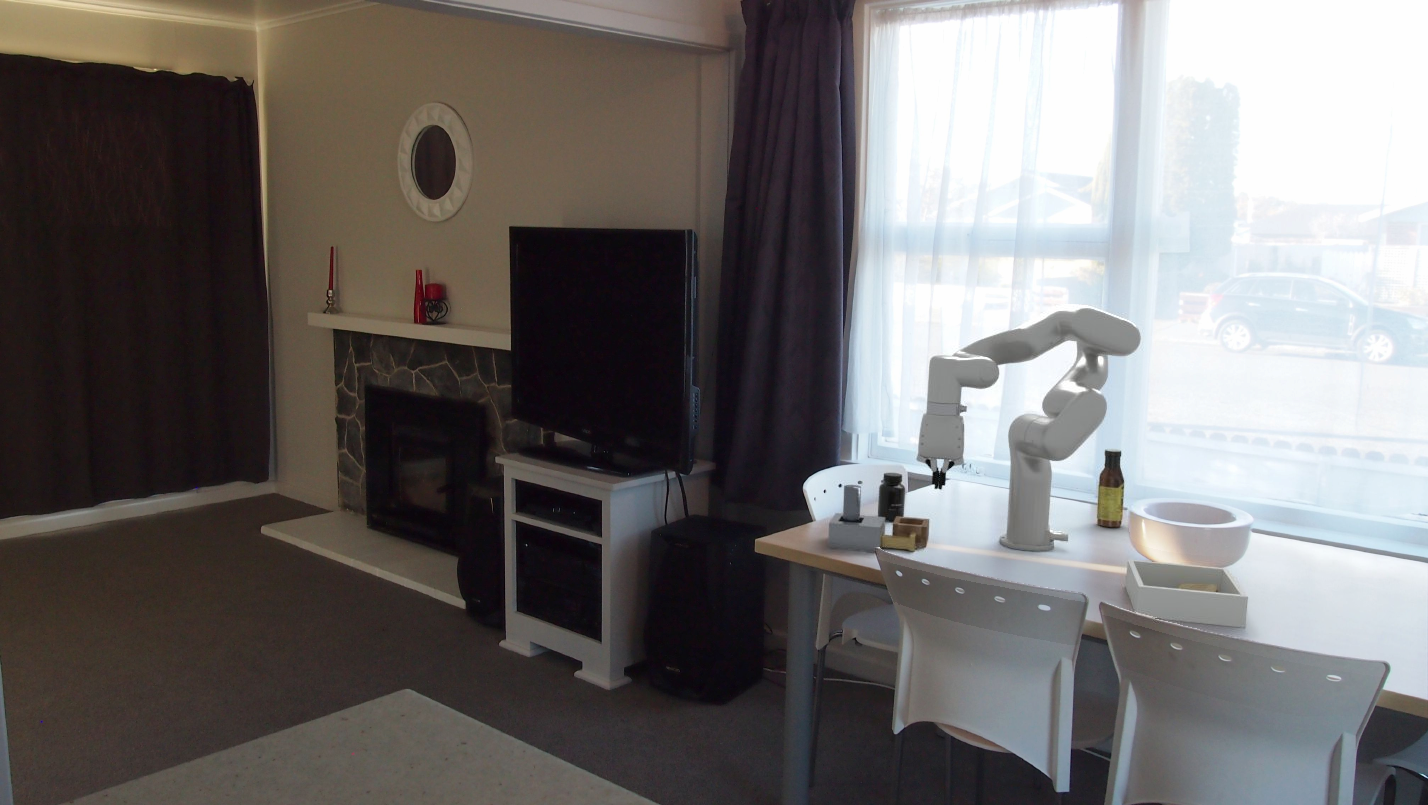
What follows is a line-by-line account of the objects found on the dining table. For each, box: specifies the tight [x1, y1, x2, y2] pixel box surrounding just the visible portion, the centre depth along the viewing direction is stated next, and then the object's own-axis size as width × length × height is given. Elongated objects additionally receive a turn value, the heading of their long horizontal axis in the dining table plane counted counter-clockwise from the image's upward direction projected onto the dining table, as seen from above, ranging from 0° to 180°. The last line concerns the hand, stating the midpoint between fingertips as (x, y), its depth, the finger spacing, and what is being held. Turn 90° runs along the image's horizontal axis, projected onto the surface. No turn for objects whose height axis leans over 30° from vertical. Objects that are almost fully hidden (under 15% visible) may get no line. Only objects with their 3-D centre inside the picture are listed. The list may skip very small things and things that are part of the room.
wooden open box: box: [891, 516, 930, 549], centre depth 246 cm, size 8×8×5 cm
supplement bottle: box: [877, 472, 906, 522], centre depth 267 cm, size 7×7×12 cm
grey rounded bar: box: [842, 484, 862, 523], centre depth 242 cm, size 4×4×14 cm
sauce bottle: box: [1096, 448, 1125, 528], centre depth 264 cm, size 7×6×20 cm
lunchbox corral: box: [1125, 559, 1249, 629], centre depth 202 cm, size 19×19×6 cm
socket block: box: [827, 512, 886, 553], centre depth 242 cm, size 12×10×6 cm
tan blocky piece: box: [881, 532, 917, 553], centre depth 240 cm, size 9×4×4 cm, turn 74°
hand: (938, 488), depth 235 cm, fingers closed
